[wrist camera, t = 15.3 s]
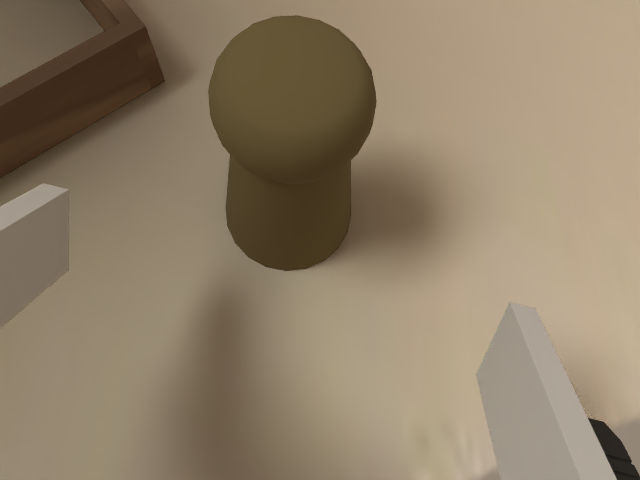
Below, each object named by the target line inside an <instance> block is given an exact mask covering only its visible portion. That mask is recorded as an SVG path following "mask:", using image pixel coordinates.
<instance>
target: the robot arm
mask: <svg viewBox="0 0 640 480" xmlns="http://www.w3.org/2000/svg"><path fill="white" fill-rule="evenodd" d="M68 270H69V189H65V188H61V187H57V186H53V185H49V184H46V183H42V184H41V185H39V186H37V187H35V188H33V189H31V190H29V191H28V192H26V193H24V194H22V195H20V196H18V197H17V198H15V199H13V200H11V201H9V202H7V203H5V204H4V205H2V206H0V328H1V327H3V326H4V325H5V324H6V323H7V322H8V321H10V320H11V319H12V318H13V317H14V316H15V315H17V314H18V313H19V312H20V311H21V310H22V309H24V308H25V307H26V306H27V305H28V304H29V303H31V302H32V301H33V300H34V299H35V298H36V297H38V296H39V295H40V294H41V293H42V292H43V291H45V290H46V289H47V288H48V287H49V286H50V285H52V284H53V283H54V282H55V281H56V280H57V279H59V278H60V277H61V276H62V275H63V274H64V273H66V272H67V271H68ZM476 376H477V381H478V385H479V389H480V393H481V398H482V402H483V406H484V411H485V415H486V419H487V423H488V428H489V432H490V436H491V441H492V445H493V449H494V453H495V458H496V462H497V466H498V470H499V475H500V478H501V480H640V476H639V474H638V472H637V470H636V468H635V466H634V465H632V464H631V459H630V457H629V455H628V453H627V451H626V449H625V447H624V445H623V444H622V442H621V440H620V439H619V438H618V437H617V436H616V435H615V434H614V433H613V432H612V430H611V429H610V428H609V427H608V426H607V425H606V424H605V423H604V422H602V421H598V420H594V419H590V418H587V416H586V413H585V411H584V409H583V407H582V405H581V403H580V401H579V399H578V397H577V394H576V392H575V390H574V388H573V386H572V384H571V382H570V380H569V378H568V375H567V373H566V371H565V369H564V367H563V365H562V363H561V361H560V359H559V356H558V354H557V352H556V350H555V348H554V346H553V344H552V342H551V340H550V338H549V335H548V333H547V331H546V329H545V327H544V325H543V323H542V321H541V319H540V316H539V314H538V312H537V310H536V308H532V307H528V306H524V305H520V304H516V303H512V302H509V304H508V307H507V309H506V311H505V313H504V315H503V317H502V320H501V322H500V324H499V326H498V328H497V330H496V333H495V335H494V337H493V339H492V341H491V343H490V346H489V348H488V350H487V352H486V354H485V356H484V359H483V361H482V363H481V365H480V367H479V369H478V371H477V374H476Z"/></svg>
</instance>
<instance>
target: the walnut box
mask: <svg viewBox="0 0 640 480" xmlns="http://www.w3.org/2000/svg"><path fill="white" fill-rule="evenodd" d="M80 1H81V2H82V3H83V4H84V6H85V7H86V8H87V9H88V11H89V12H90V13H91V14H92V16H93V17H94V18H95V19H96V21H97V22H98V23H99V24H100V25H101V27H102V28H103V29H104V30H105V31H104V32H102V33H100V34H98V35H97V36H95V37H93V38H91V39H89V40H87V41H85V42H84V43H82V44H80V45H78V46H76V47H74V48H73V49H71V50H69V51H67V52H65V53H63V54H62V55H60V56H58V57H56V58H54V59H52V60H51V61H49V62H47V63H45V64H43V65H41V66H39V67H38V68H36V69H34V70H32V71H30V72H28V73H27V74H25V75H23V76H21V77H19V78H17V79H16V80H14V81H12V82H10V83H8V84H6V85H4V86H3V87H1V88H0V178H1V177H2V176H4V175H6V174H8V173H9V172H11V171H13V170H14V169H16V168H18V167H19V166H21V165H23V164H25V163H26V162H28V161H30V160H31V159H33V158H35V157H36V156H38V155H40V154H41V153H43V152H45V151H47V150H48V149H50V148H52V147H53V146H55V145H57V144H58V143H60V142H62V141H64V140H65V139H67V138H69V137H70V136H72V135H74V134H75V133H77V132H79V131H80V130H82V129H84V128H86V127H87V126H89V125H91V124H92V123H94V122H96V121H97V120H99V119H101V118H103V117H104V116H106V115H108V114H109V113H111V112H113V111H114V110H116V109H118V108H119V107H121V106H123V105H125V104H126V103H128V102H130V101H131V100H133V99H135V98H136V97H138V96H140V95H142V94H143V93H145V92H147V91H148V90H150V89H152V88H153V87H155V86H157V85H158V84H160V83H162V82H164V81H165V80H164V77H163V74H162V72H161V69H160V66H159V63H158V60H157V58H156V55H155V52H154V49H153V46H152V43H151V41H150V38H149V35H148V32H147V29H146V27H145V25H144V24H143V23H142V22H141V20H140V19H139V18H138V17H137V16H136V14H135V13H134V12H133V11H132V10H131V8H130V7H129V6H128V5H127V4H126V2H125V1H124V0H80Z"/></svg>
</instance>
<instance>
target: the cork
mask: <svg viewBox="0 0 640 480" xmlns="http://www.w3.org/2000/svg"><path fill="white" fill-rule="evenodd" d="M208 92H209V105H210V115H211V119H212V123H213V126H214V128H215V130H216V132H217V134H218V137H219V139H220V141H221V143H222V145H223V147H224V148H225V149H226V150H227V151H228V152H229V153H230V162H229V175H228V187H227V200H226V214H227V226H228V228H229V230H230V232H231V235H232V237H233V239H234V241H235V243H236V244H237V245H238V246H239V248H240V249H241V250H242V251H243V252H244V253H245V254H246V255H247V256H248V257H249V258H251V259H253V260H255V261H256V262H258V263H260V264H262V265H264V266H265V267H270V268H275V269H280V270H285V271H288V270H297V269H306V268H308V267H311V266H313V265H315V264H317V263H320V262H322V261H324V260H325V259H326V258H328V257H329V256H330V255H331V254H332V253H333V252H334V251H335V250H337V249H338V248H339V246H340V244H341V242H342V241H343V239H344V237H345V235H346V234H347V232H348V227H349V221H350V216H351V160H352V159H353V158H354V157H355V156H356V155H357V154H358V152H359V150H360V149H361V147H362V145H363V144H364V142H365V140H366V139H367V137H368V135H369V133H370V130H371V127H372V125H373V119H374V113H375V108H376V93H375V87H374V82H373V77H372V71H371V69H370V67H369V65H368V64H367V62H366V60H365V58H364V57H363V55H362V53H361V51H360V50H359V49H358V48H357V46H356V45H355V44H354V43H353V42H352V41H351V40H350V39H348V38H347V37H346V36H345V35H344V34H343V33H342V32H341V31H340V30H338V29H336V28H334V27H332V26H330V25H328V24H326V23H324V22H322V21H320V20H316V19H312V18H307V17H302V16H280V17H273V18H269V19H266V20H263V21H260V22H257V23H254V24H253V25H251V26H250V27H248V28H247V29H245V30H244V31H242V32H241V33H239V34H238V35H237V36H235V37H234V38H233V39H232V40H231V41H230V43H229V44H228V45H227V47H226V48H225V49H224V51H223V52H222V53H221V55H220V56H219V57H218V59H217V61H216V64H215V67H214V71H213V74H212V77H211V81H210V86H209V91H208Z"/></svg>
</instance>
